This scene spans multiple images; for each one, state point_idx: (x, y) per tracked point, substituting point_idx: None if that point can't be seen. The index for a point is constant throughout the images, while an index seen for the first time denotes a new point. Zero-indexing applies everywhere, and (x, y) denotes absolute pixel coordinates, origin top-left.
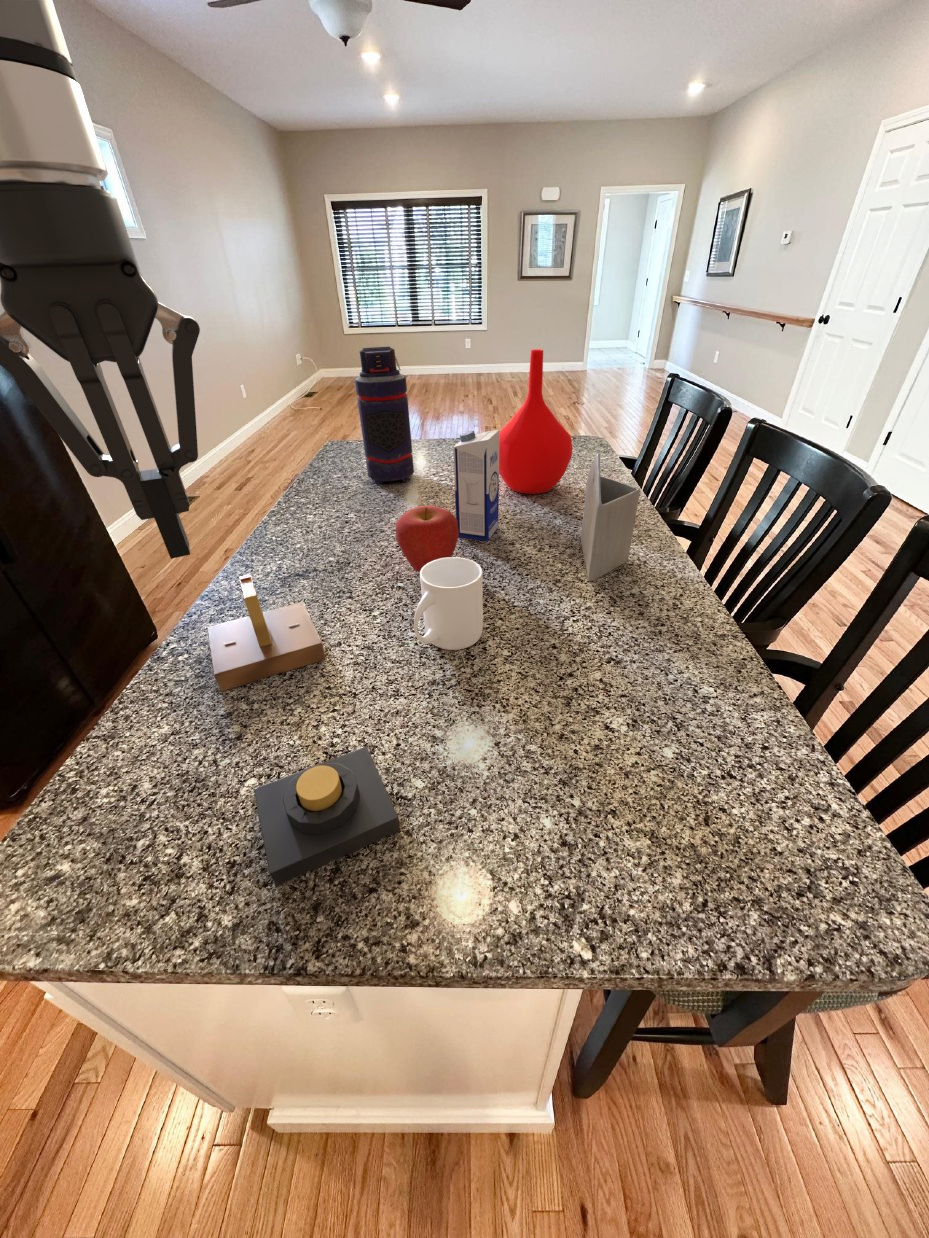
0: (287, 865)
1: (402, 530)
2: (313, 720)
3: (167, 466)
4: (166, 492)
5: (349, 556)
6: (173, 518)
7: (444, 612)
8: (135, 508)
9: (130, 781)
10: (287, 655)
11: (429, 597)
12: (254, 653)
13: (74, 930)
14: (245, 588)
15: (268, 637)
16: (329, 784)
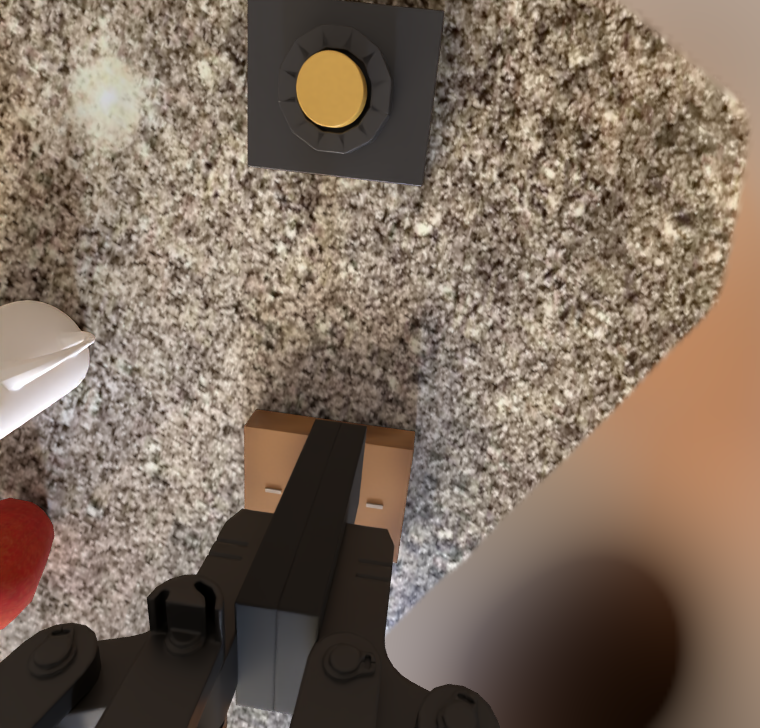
0: (418, 8)
1: (4, 587)
2: (309, 293)
3: (176, 634)
4: (257, 556)
5: None
6: (294, 489)
7: (10, 341)
8: (387, 561)
9: (566, 330)
10: (302, 431)
11: (10, 370)
12: None
13: (681, 117)
14: None
15: None
16: (314, 72)
